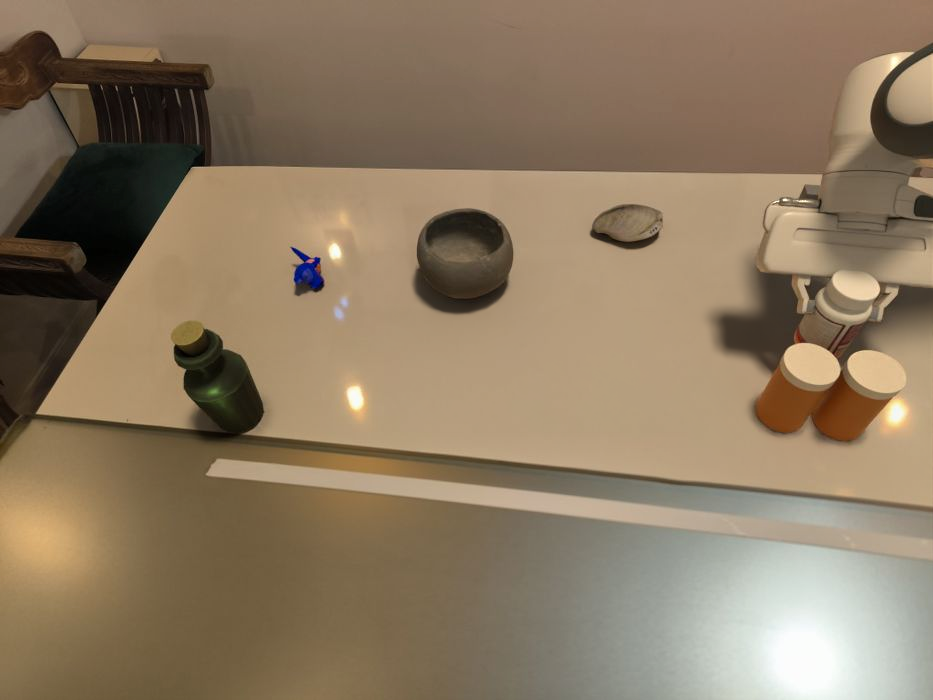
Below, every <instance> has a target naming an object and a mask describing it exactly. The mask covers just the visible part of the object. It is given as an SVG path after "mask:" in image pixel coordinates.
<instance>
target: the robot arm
mask: <svg viewBox="0 0 933 700" xmlns="http://www.w3.org/2000/svg"><path fill="white" fill-rule="evenodd" d="M827 143H828V149H829V150H828V151H829V154H828V160H827V163H826V165H825V167H824V169H823V171H822V174H821V179H820V184H819V185H820V190H819V196H818V199H798V198H794V197H790V196H781V197H779V199H775V200H773V201H771V202H770V203H768V204H767V206H766V207H765V209H764V211H763V218H762V227H763V230H764V233H763V235H762V237H761V241H760V244H759V248H758V252H757V256H756V261H755V264H756V266H757V268H758V270H759V272H761V273H767V274H768V273H769V274H779V275H787V276H788V275H789V276H792V277H791V287H792V290H793V291H794V293H795V296H796V298H797V299H798V301H797V307H796V314H800V315H805V314H809V315H813V314H814V312H815V309H814V307H815V306H816V301H814V299H810V296H809V294H808V292H807V289H806V287H805V286H809V285H810V284H811V280H812V279H811V278H822V279H829V280H831V278H832V276H833V275H834V274H835V273H836V272H837V271H839V270H850V271H862V272H865V273H867V274H869V275H871V276H872V277H873V278H874V279H875V280H876V281H877V282H878V284H879V286H880V292H879V295H878V296H877V298H876V299H877V300H876V301H875V302H874V303H873V305H872V312H871V314H870V316H869V318H868V319H867V321H868V322H877V323H881V322H882V321H883V318H882V316H883V315H884V311H885V308H886V307H887V306H889V305H890V303H891V302H892V301H893V300H894V299H895V298H896V297H897V296H898V294H899V289H900V286H903V287H904V286H905V287H914V288H925V289H933V194H930V193H927V192H926V191H923V190H920V189H918V188H915V187H913V186H911V185H909V183H910V177H911V173H912V172H913V171H914V170H915V169H918V168H927V169H933V41H932V42H931V43H929V44H927V45H925V46H924V47H922V48H920V49H918V50H917V51H897V52H888V53H884V54H880V55H876V56H874V57H872V58H869V59H867V60H864V61H863V62H862V63H860V64H858V65H857V66H855V67H854V68H853V69H852V70H851V71H850V72H849V73H848V75H847V76H846V78H845V80H844V81H843V83H842V86H841V88H840V90H839V94H838V96H837V100H836V103H835V107H834V111H833V114H832V120H831V124H830V129H829V135H828V142H827ZM777 204H778V205H777ZM883 317H884V316H883ZM881 320H882V321H881ZM867 321H866V322H867Z"/></svg>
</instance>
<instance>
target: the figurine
mask: <svg viewBox="0 0 933 700" xmlns="http://www.w3.org/2000/svg"><path fill="white" fill-rule="evenodd" d="M290 249H291V251H292V252H293V253H294V254H295V255H296V256H297V257H298V258H299V259H300V260H301V261H302V263H300V264H298V266H296V268H295V270H294V272H293V276H294V277H293V282H294V284H296V285H299V284H301V283H302V284H305V285H308V286H310V287H311V288H312V289H313V290H318V289H320V288H321V287H323V286H324V285H325V279H324V277H323V276H322V275H321V274H320V272H321V270H322V265H321V260H322V258H321V257H318V256H315V257H310V256H309V255H307V254H305V253H304V252H302V251H301V250H300V249H298V248H296V247H293V246H290Z"/></svg>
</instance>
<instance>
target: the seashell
mask: <svg viewBox="0 0 933 700" xmlns="http://www.w3.org/2000/svg"><path fill="white" fill-rule="evenodd" d="M663 227H664V214H663V212H662V211H661V210H659V209H656V208H654V207H651V206H648V205H644V204H637V203H625V204H623V203H622V204H618V205H614V206H613V207H611V208H609V209H606V210H604V211H602V212H600V213H599V214H598V215H597V216H596V217H595V218H594V220H593V222H592V225H591V228H592V229H593V231H595V232H596V233H597V234H601V233H602V234H607V235H608V236H609V237H610V238H612V239H614V240H616V241H619V242H627V243H628V242H630V243H631V242H636V241H642V240H645V239H646V240H647V239H648V238H651V237H653V236H654V235H656V234H657V233H658V232H659V231H660V230H661V229H663Z"/></svg>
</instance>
